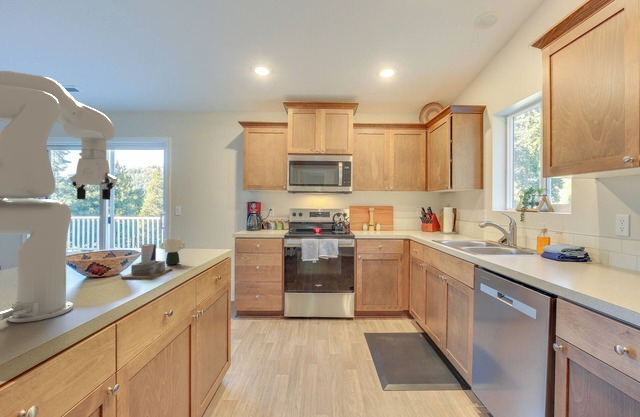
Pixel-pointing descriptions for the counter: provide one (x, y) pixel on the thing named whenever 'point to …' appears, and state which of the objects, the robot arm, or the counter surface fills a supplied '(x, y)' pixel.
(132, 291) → the counter surface
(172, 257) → the character mug
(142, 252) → the energy drink
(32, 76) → the robot arm
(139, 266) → the can holder
